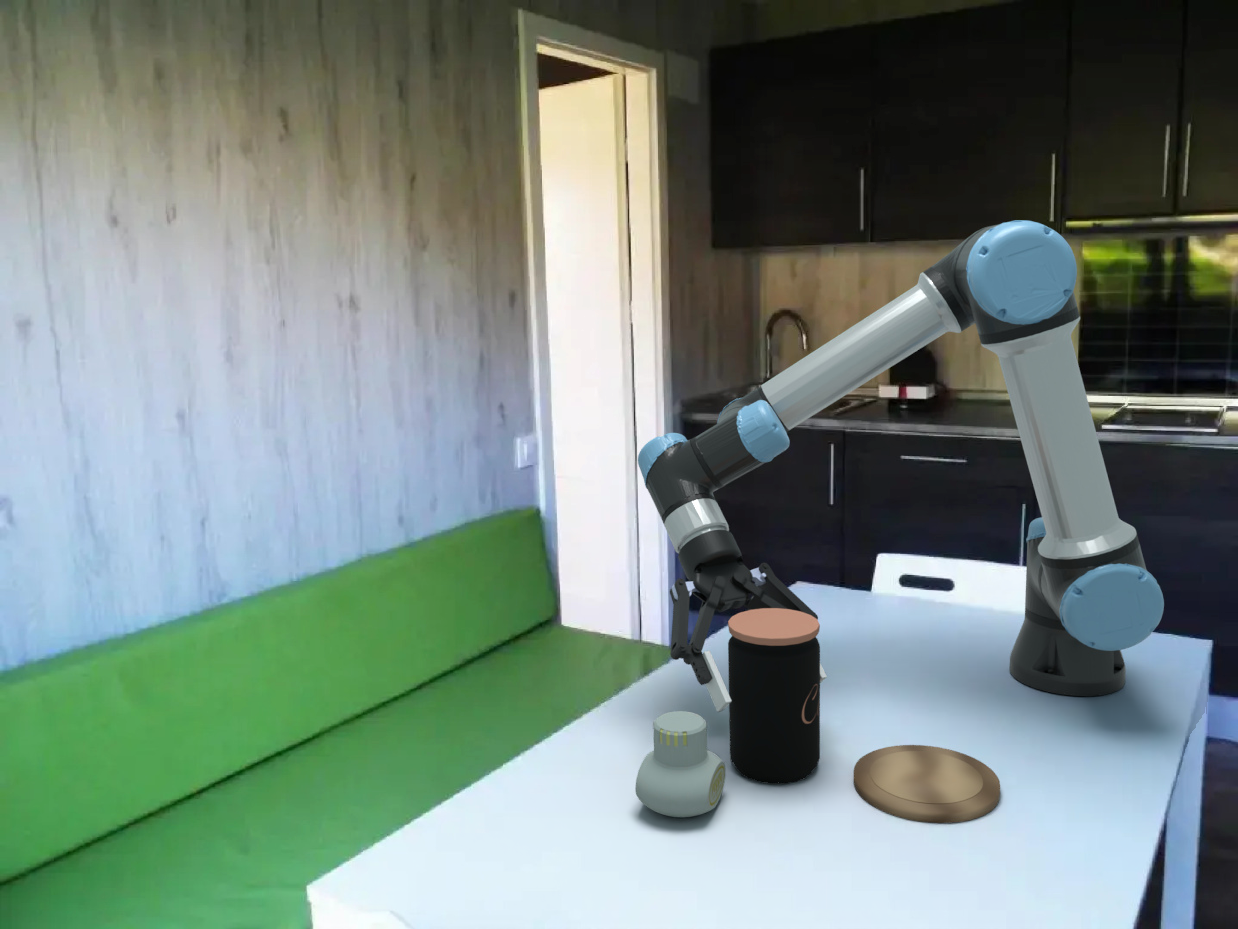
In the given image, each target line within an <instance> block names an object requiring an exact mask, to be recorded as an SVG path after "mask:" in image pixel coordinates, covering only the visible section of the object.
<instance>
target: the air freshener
mask: <svg viewBox="0 0 1238 929" xmlns="http://www.w3.org/2000/svg"><path fill="white" fill-rule="evenodd" d="M652 726H653V728H652V729H653V750H652V751H650V752H649V753H647V754H646V755H645V757H644V758H643V760H642V762H641V764H640V766H639V768H638V771H637V775H636V780H635V795H636V797H637V799H638V800H639V801H640V802H641V803H642V804H643V805H645V807H647V808H648V809H650V810H652V811H653V812H656V813H658V814H661V815H664V816H667V817H673V818H690V817H696V816H697V817H698V816H700V815H704V814H705V813H708V812H710V811H713V809H715V808H716V806H717V805H718V803H719V802H720V799H721V797H722V793H723V790H724V787H725V782H726V764H725V762H724V761H723V760H722V758H720V757H719V756H718V755H717V754H715V753H714V752H712V751H711V750H709V749H708V735H707V734H708V733H707V730H708V729H707V720H705V719H704V718H703V717H702V716H701V715H700V714H697V713H695V712H691V711H684V710H681V711H680V710H678V711H669V712H666V713H662V714H661V715H659V716H658V717H657V718H655V720H654V721H653V724H652Z"/></svg>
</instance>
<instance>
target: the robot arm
mask: <svg viewBox="0 0 1238 929" xmlns="http://www.w3.org/2000/svg"><path fill="white" fill-rule="evenodd" d="M1077 275H1078V267H1077V261H1076V257H1075V255H1074V252H1073V249H1072V247H1071V246H1070V244H1069V242H1067V240H1066V239H1065V238H1064V237H1063V236H1062V235H1061V234H1060V233H1058V232H1057V231H1056V230H1054V229H1053V228H1051V227H1050V226H1049V227H1048V226H1047V225H1045V224H1042V223H1040V222H1036V221H1032V220H1027V219H1026V220H1020V219H1019V220H1017V219H1016V220H1011V221H1007V222H1002V223H998V224H997V223H996V224H992V225H989V226H986V227H983V228H981V229H979V230H977V231H975V232H974V233H972V234H971V235H970V236H968V237H967V238H966V239H965V240H963V241H962V242H960V244H958V246H956V247H955V248H953V249H952V251H950V252H949V253H947V254H946V255H945V256H944V257H942V258H941V259H940V260H938V261H937V262H936V263H934V264H932V265H931V266H930V267H929V268H927V269H926V270H924V271H923V272H921V273H920V274H919V277H918V281H917V284H915V286H913V287H911V288H910V289H908V290H907V291H905V292H904V293H902V294H901V295H899V296H898V297H896V298H894V299H892V300H891V301H890V302H888V303H886V304H885V305H883V306H882V307H880V308H879V309H878V310H875V311H874V312H873V313H871V314H869V315H868V316H867V317H865V318H863V319H862V320H860V321H858V322H857V323H855V324H854V325H852V326H851V327H849V328H848V329H846V330H845V331H843V332H842V333H840V334H839V335H837V336H836V337H834V338H832V339H831V340H829V341H827V342H826V343H824V344H823V345H821V346H820V347H819V348H816V350H814V351H812V352H811V353H809V354H808V355H806V356H804V357H803V358H801V359H800V360H798V361H796V362H795V363H794V364H792V365H791V366H789V367H787V368H786V369H784V370H783V371H781V372H779V373H778V374H776V375H775V376H773V377H772V378H770V379H769V380H767V381H766V382H764V383H763V384H761V385H760V386H758V387H757V388H755V389H753V390H752V391H750V392H748V393H747V394H746V395H744V396H743V397H740V398H736V399H734V400H732V401H730V402H729V403H728V404H727V405H725V406H724V407H723V409H722V411H720V412H719V415H718V418H717V422H716V424H714V425H713V426H712V427H709V428H708V429H707V430H705V431H704V432H702V433H700V434H699V435H697V436H694V437H693V438H690V439H687V437H686V436H685V435H683V434H681V433H679V432H678V433H677V432H668V433H666V434H663V436H659V435H658V436H656V437H654V438H652V439H650V440H649V441H647V443H645V444H644V445H643V447H642V448H641V449H640V450H639V452H638V455H637V464H638V467H639V470H640V474H641V475H642V479H643V482H644V486H645V488H646V489H647V491H648V494H649V495H650V498H651V499H652V501H653V504H654V506H655V508H656V510H657V512H658V514H659V517H660V519H661V521H662V523H663V526H664V528H665V530H666V532H667V535H668V538H669V539H670V541H671V543H672V546H673V548H674V552H675V553H677V554H678V555H677V556H678V557H677V559H678V561H679V562H680V565H681V567H682V569H683V572H684V575H685V577H686V578H687V580H688V581H685V579H683V578H681V577H680V578H677V579H676V580H675V582H674V583H673V585H672V586H671V588H670V589H669V595H670V598H671V600H672V604H673V605H672V606H673V608H672V622H671V623H672V624H671V638H670V640H671V641H670V653H669V654H670V658H671V659H673V660H675V661H677V660H679V659H683V663H684V664H686V665H691V668H692V671H693V674H694V675H695V678H696V680H697V682H698V683H699V684H700V686H704V685H705V686H706V689H707V691H708V693H709V696H710V699H711V701H712V703H713V705H714V708H715V710H716V712H717V713H719V712H723V711H724V710H725V709H726V708H727V707H729V703H730V702H731V698H730V696H729V690H728V689H727V687H726V685H725V682H724V680H723V678H722V675H721V673H720V670H719V669H718V667H717V664H716V661H715V660H714V657H713V655H712V652H711V650H705V651H704V652H702V651H703V648H704V645H705V642H706V640H707V636H708V633H709V630H710V627H711V623H712V621H713V618H714V614H715V611H718V613H722V612H726V611H727V610H729V609H730V610H731V609H732V610H736V609H740V608H742V607H744V608H745V609H747V610H754V609H762V608H780V609H790V610H796V611H801V612H804V613H806V614H809V615H812V616H813V617H814V618H816V619H817V620H818V621H819V616H818V614H816V612H814V610H812V609H811V608H810V607H809V606H808V605H807V604H806V602H804V601H803V600H801V599H800V598H799V597H798V596H797V595H796V594H795V593H794V592H793V591H792V590H791V589H790V588H789V587H788V586H787V585H786V584H784V583H783V582H782V581H781V579H779V578H778V577H777V576H776V575H775V573H774V572H773V570H772V568H771V567H770V564H768V563H767V562H762V563H760V565H759V566H758V567H756V568H753V569H751V570H750V569H749V568H748V567H747V566H746V565H745V564H744V561H743V556H742V552H741V550H740V548H739V546H738V543H737V541H736V539H735V537H734V535H733V534H732V532H731V531H730V528H729V527H730V525H729V524H728V522H727V520H726V518H725V516H724V514H723V511H722V510H721V507H720V506H719V504H718V501H717V500H716V497H715V496H714V492H715V491H717V490H719V489H722V488H724V487H725V486H726V485H728V484H730V483H732V482H734V481H735V480H737V479H738V478H741V477H742V476H744V475H745V474H747V473H749V472H751V471H753V470H755V469H756V468H759V467H760V466H762V465H764V464H765V463H770V462H772V461H773V459H774V458H775V457H776V458H777V456H778V455H780V454H782V453H784V452H785V451H786V450H787V449H789V447H790V438H789V436H788V432H789V431H791V430H792V429H793V428H795V427H797V426H799V425H801V423H803V422H805V421H806V420H808V419H810V418H811V417H812V416H815V415H816V414H818V413H819V412H821V411H822V410H824V409H826V408H827V407H829V406H830V405H832V404H834V403H835V402H837V401H839V400H840V399H841V398H843V397H845V396H847V395H848V394H849V393H851V392H853V391H855V390H857V389H858V388H860V387H861V386H862V385H865V384H866V383H867V382H869V381H870V380H872V379H874V378H876V377H877V376H878V375H881V374H882V373H884V372H885V371H887V370H888V369H890V368H891V367H893V366H895V365H896V364H898V363H900V362H902V361H903V360H905V359H906V358H908V357H909V356H911V355H912V354H914V353H915V352H918V350H920V349H922V348H924V347H925V346H927V345H929V344H930V343H932V342H933V341H935V340H936V339H938V338H939V337H941V336H943V335H944V334H946V333H949V332H951V333H956V334H960V333H962V332H964V331H965V330H966V329H968V328H969V327H972V326H973V325H975V327H976V330H977V334H978V338H979V342H980V345H981V347H983V348H985V349H987V350H989V351H990V352H992V353H994V354H995V355H996V356H997V357H998V362H999V366H1000V369H1001V372H1002V376H1003V379H1004V384H1005V387H1006V391H1007V394H1008V398H1009V401H1010V406H1011V409H1012V413H1013V416H1014V421H1015V424H1016V427H1017V430H1018V434H1019V438H1020V442H1021V445H1022V450H1023V453H1024V457H1025V460H1026V464H1027V467H1028V471H1029V474H1030V478H1031V482H1032V484H1033V485H1032V486H1033V490H1034V492H1035V496H1036V497H1035V498H1036V499H1037V503H1038V507H1039V512H1040V515H1041V517H1037V518H1035V519H1033V520H1032V521H1031V522H1030V523H1029V526H1028V533H1027V537H1026V539H1025V540H1026V544H1027V548H1026V549H1027V550H1026V572H1025V573H1026V574H1025V580H1026V581H1025V602H1024V604H1025V605H1024V619H1023V623H1022V625H1021V628H1020V629H1019V633H1018V635H1017V637H1016V640H1015V643H1014V645H1013V647H1012V650H1011V651H1010V657H1009V672H1010V675H1012V677H1013V678H1014V679H1016V680H1017V681H1018V682H1020V683H1021V684H1024V685H1026V686H1028V687H1030V688H1032V689H1033V688H1034V689H1036V690H1039V691H1040V690H1041V691H1044V692H1047V693H1052V694H1058V695H1064V696H1071V697H1072V696H1073V697H1074V696H1075V697H1094V696H1103V695H1109V694H1112V693H1116V692H1118V691H1119V690H1122V689H1123V687H1124V686H1125V685H1126V671H1127V670H1126V663H1125V660H1124V657H1123V653H1122V650H1125V649H1129V648H1132V647H1134V646H1136V645H1138V644H1140V643H1142V642H1144V640H1146V639H1147V638H1148V637H1150V636H1151V635H1152V632H1154V631H1155V629H1156V628H1157V627H1158V626H1159V624H1160V622H1161V620H1162V617H1163V614H1164V610H1165V609H1164V607H1165V599H1164V595H1163V592H1162V589H1161V586H1160V585H1159V583H1158V581H1157V579H1156V578H1155V577H1154V576H1153V574H1152V573H1150V572H1149V571H1148V569H1147V567H1146V563H1145V559H1144V556H1143V553H1142V548H1141V544H1140V541H1139V537H1138V533H1137V530H1136V528H1135V527H1134V526H1133V525H1131V524H1129V523H1127V522H1126V521H1123V520H1121V518H1119V514H1118V511H1117V506H1116V503H1115V499H1114V495H1113V492H1112V487H1111V484H1110V480H1109V477H1108V472H1107V468H1106V464H1105V461H1104V457H1103V454H1102V450H1101V445H1100V443H1099V442H1100V440H1099V438H1098V434H1097V430H1096V426H1095V423H1094V419H1093V415H1092V411H1091V408H1090V404H1089V399H1088V397H1087V392H1086V389H1085V385H1084V380H1083V377H1082V374H1081V370H1080V367H1079V366H1080V365H1079V363H1078V359H1077V355H1076V350H1075V347H1074V344H1073V340H1072V333H1073V332H1074V330H1075V328H1076V326H1077V325H1078V324H1079V322H1080V320H1081V315H1080V311H1079V308H1078V304H1077V299H1076V295H1075V293H1074V292H1075V291H1074V290H1075V286H1076V281H1077ZM753 582H754V583H753ZM692 595H694V596H695V597H697V598H698V599H699V600H701V601H702V602H701V606H700V608H699V611H698V617H697V620H696V623H695V626H694V629H693V632H692V635H691V638H690V641H689V643H688V635H689V619H690V618H689V614H690V597H691V596H692ZM750 595H751V597H750ZM827 677H828V676H827V674H826V672H825V670H824V668H823V665H822V664H821V662H820V684H821V683H822V682H823V681H824V680H825V679H826V678H827Z"/></svg>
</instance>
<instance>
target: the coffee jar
mask: <svg viewBox="0 0 1238 929" xmlns="http://www.w3.org/2000/svg"><path fill="white" fill-rule="evenodd" d="M727 626H728V633H729V634H730V635H731V636H730V638H729V639H728V642H727V646H728V648H727V651H728V653H727V654H728V662H727V663H728V694H729V696H730V698H731V702H730V703H729V705H728V714H729V715H728V716H729V720H728V722H729V727H728V728H729V757H730V761H731V763H732V764H733V765H734V767H735V769H736V770H737V771H738V772H739V774H741V776H744V777H746V778H747V779H749V780H752V781H755V782H758V783H763V784H771V785H785V784H791V783H797V782H800V781H802V780H805V779H807V778H808V777H809V776H810V775H811V774H812V773H813V771H814V770H815V769H816V768H817V766H818V763H819V761H820V759H821V758H820V756H821V755H820V754H821V753H820V752H821V743H820V742H821V738H820V737H821V734H820V733H821V731H820V730H821V729H820V728H821V720H820V719H821V712H820V711H821V699H820V698H821V683H820V663H821V645H820V642H819V640H818V638H817V636H818V634H819V632H820V627H821V625H820V622H819V619H818V620H817V619H816V618H814V617H813V616H812V615H809V614H806V613H804V612H801V611H796V610H790V609H780V608H762V609H754V610H749V609H747V610H744V611H741V612H738V613H736V614H734V615H732V616H731V617H730V618H729V620H728V621H727Z"/></svg>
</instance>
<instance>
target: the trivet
mask: <svg viewBox="0 0 1238 929" xmlns="http://www.w3.org/2000/svg"><path fill="white" fill-rule="evenodd" d="M853 786H854V788H855V791H856V793H857V794H858V796H860V797H861V798H862V799H863V801H865V802H867V803H868V804H869V805H871V806H872V807H874V808H876V809H878V810H879V811H881V812H884V813H886V814H889V815H892V816H895V817H898V818H901V819H905V820H910V821H915V822H921V823H932V824H953V823H963V822H967V821H972V820H975V819H978V818H981V817H984V816H985V815H987V814H989V813H990V812H992V811H993V810H994V809H995V808H996V807H997V806H998V804H999V801H1000V798H1001V783H1000V779H999V777H998V775H997V774H996V773H995V772H994V770H992V768H990V767H989V766H988V765H987V764H985V763H984V762H982V761H981V760H979V759H977V758H975V757H973V756H971V755H967V754H965V753H962V752H960V751H956V750H952V749H948V748H944V747H940V746H939V747H938V746H931V745H922V744H903V745H902V744H900V745H893V746H892V745H891V746H886V747H882V748H878V749H875V750H872V751H871V752H868V753H866V754H864V755H863V756H861V757H860V758H859V759H858V760H857V762H856V763H855V765H854V767H853Z"/></svg>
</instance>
